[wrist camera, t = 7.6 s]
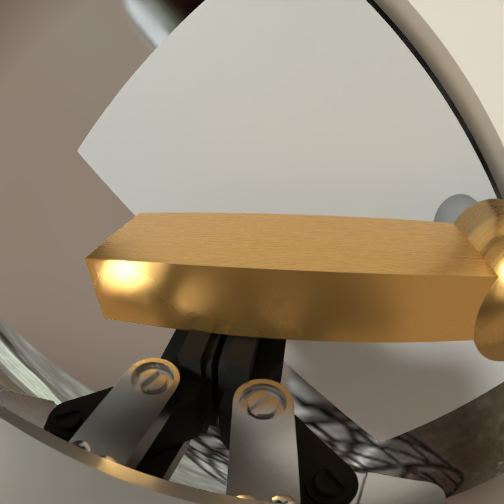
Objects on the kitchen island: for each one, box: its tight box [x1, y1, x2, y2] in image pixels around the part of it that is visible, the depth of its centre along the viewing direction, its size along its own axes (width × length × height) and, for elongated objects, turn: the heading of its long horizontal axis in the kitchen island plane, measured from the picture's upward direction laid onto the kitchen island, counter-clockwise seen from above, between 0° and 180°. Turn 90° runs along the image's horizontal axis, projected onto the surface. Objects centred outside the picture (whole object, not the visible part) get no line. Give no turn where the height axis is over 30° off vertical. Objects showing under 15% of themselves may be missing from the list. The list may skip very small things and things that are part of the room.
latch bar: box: [85, 199, 504, 361], centre depth 8 cm, size 13×4×3 cm, turn 92°
